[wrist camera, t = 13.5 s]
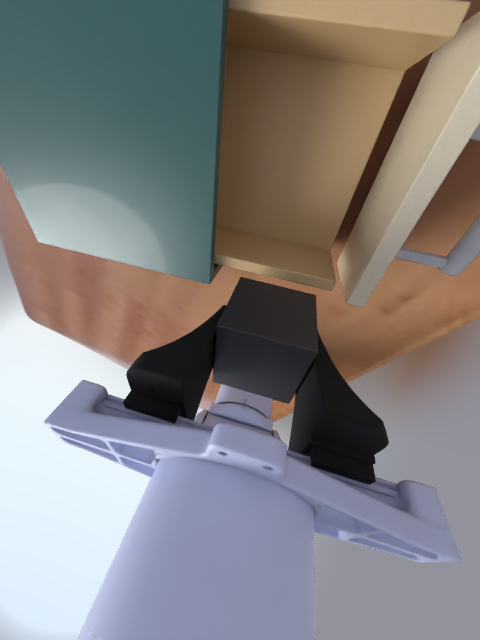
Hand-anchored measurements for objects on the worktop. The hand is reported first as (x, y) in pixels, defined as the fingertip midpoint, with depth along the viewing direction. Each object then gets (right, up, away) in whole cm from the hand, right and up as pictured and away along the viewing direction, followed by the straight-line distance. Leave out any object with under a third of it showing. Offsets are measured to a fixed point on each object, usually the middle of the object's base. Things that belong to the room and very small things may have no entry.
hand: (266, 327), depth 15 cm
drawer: (+5, +12, +2) cm, 13 cm away
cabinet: (-8, +16, +4) cm, 18 cm away
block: (0, +1, +1) cm, 1 cm away
